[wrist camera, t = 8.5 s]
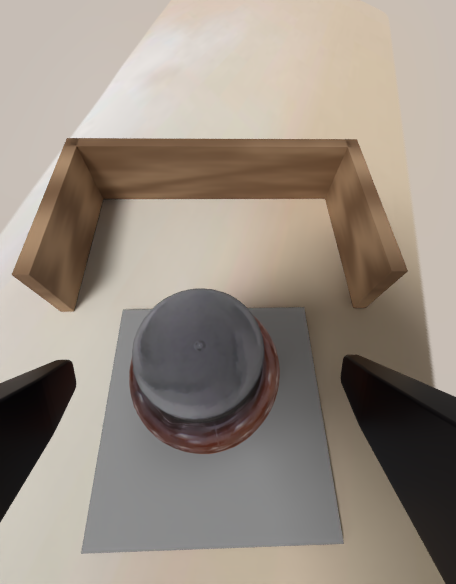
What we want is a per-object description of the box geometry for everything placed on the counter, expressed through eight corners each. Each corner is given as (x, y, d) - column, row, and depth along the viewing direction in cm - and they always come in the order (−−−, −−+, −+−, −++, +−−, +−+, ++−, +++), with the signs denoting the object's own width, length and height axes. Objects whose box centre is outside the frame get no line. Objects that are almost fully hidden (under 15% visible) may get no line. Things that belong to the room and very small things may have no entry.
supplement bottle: (236, 337, 20) (252, 240, 10) (273, 420, 17) (343, 404, 7) (157, 368, 19) (82, 293, 9) (183, 462, 16) (120, 511, 6)
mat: (340, 541, 15) (343, 543, 15) (84, 550, 15) (80, 553, 14) (302, 309, 21) (304, 307, 21) (124, 311, 21) (122, 309, 21)
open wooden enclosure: (365, 307, 22) (407, 271, 17) (60, 311, 21) (11, 274, 16) (332, 191, 28) (356, 139, 23) (95, 191, 27) (66, 138, 22)
